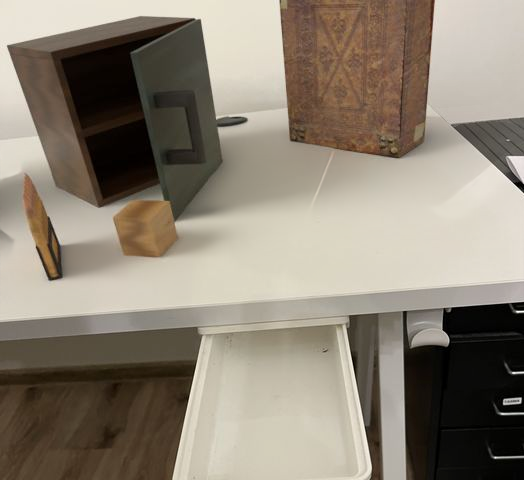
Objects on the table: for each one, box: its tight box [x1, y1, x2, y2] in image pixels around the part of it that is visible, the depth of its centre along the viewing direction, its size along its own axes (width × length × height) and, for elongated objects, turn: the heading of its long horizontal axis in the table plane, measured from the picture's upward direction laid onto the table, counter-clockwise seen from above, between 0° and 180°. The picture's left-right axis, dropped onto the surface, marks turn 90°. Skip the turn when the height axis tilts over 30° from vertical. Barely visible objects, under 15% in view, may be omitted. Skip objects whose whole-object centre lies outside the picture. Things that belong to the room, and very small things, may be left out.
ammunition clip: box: [21, 172, 63, 281], centre depth 77 cm, size 11×2×12 cm, turn 18°
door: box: [130, 18, 224, 222], centre depth 89 cm, size 7×26×24 cm, turn 166°
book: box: [278, 0, 436, 159], centre depth 99 cm, size 25×9×30 cm, turn 49°
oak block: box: [112, 199, 179, 259], centre depth 79 cm, size 6×6×6 cm
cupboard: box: [6, 15, 196, 209], centre depth 100 cm, size 18×26×24 cm
